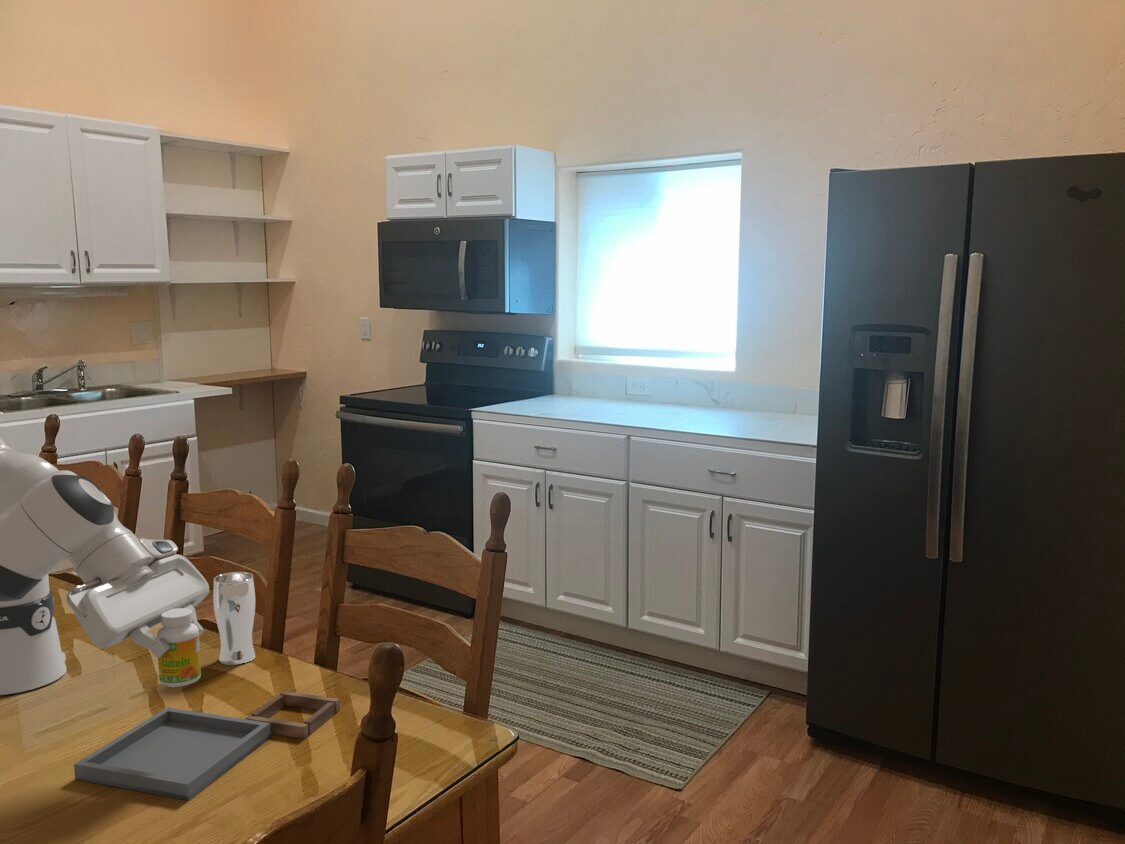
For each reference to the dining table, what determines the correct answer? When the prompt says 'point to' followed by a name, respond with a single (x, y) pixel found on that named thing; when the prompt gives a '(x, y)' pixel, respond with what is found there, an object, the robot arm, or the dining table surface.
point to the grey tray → (173, 753)
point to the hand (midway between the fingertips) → (182, 644)
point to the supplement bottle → (179, 649)
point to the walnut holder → (294, 729)
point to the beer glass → (235, 616)
